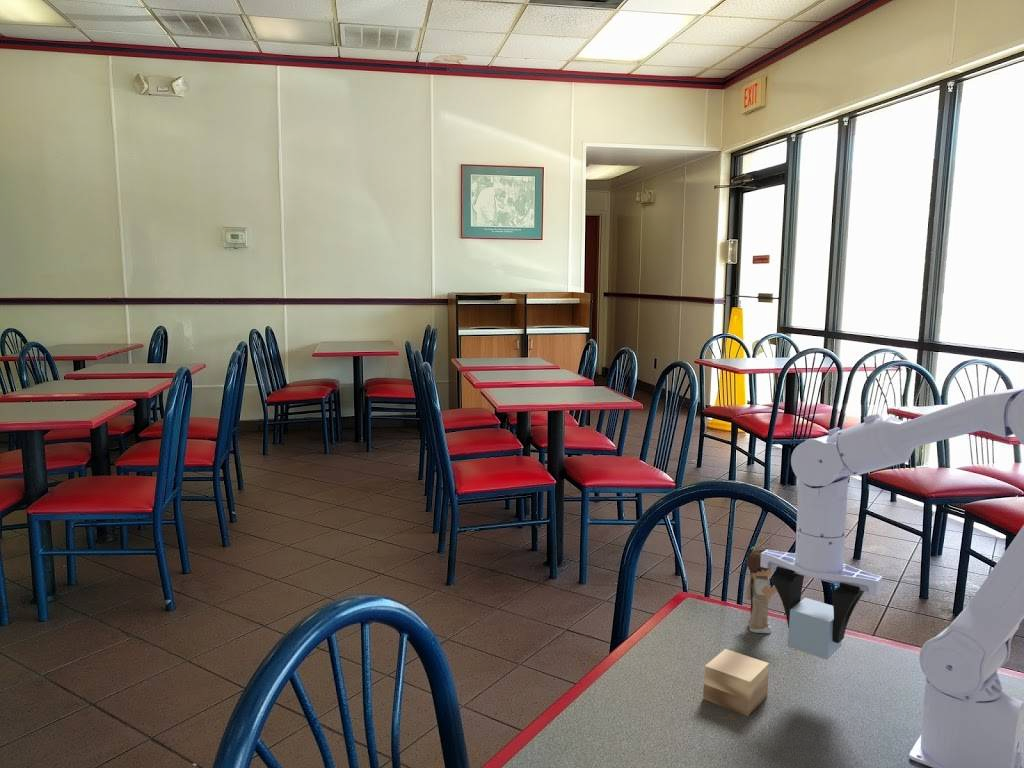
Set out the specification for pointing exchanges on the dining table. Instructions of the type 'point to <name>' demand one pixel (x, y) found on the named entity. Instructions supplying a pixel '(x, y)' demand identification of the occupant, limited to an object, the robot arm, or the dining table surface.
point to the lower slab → (734, 699)
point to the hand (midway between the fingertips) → (815, 633)
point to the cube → (812, 628)
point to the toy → (759, 592)
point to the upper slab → (736, 674)
